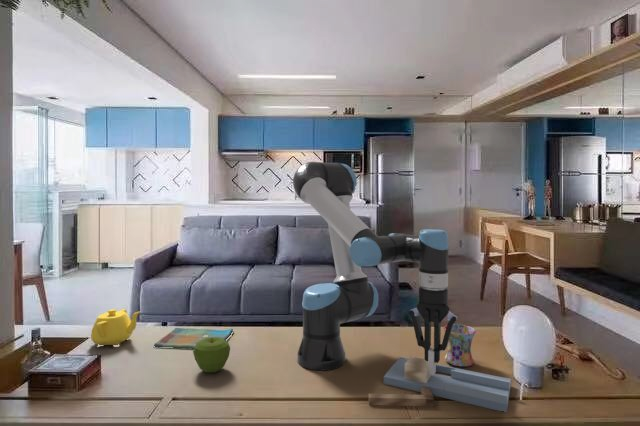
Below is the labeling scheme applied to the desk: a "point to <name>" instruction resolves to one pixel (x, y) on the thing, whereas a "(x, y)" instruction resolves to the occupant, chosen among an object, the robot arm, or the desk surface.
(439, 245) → the robot arm
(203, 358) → the apple
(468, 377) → the board
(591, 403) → the desk surface
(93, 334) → the teapot
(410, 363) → the block
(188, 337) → the colourful book
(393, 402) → the crook tool
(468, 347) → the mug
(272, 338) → the desk surface
